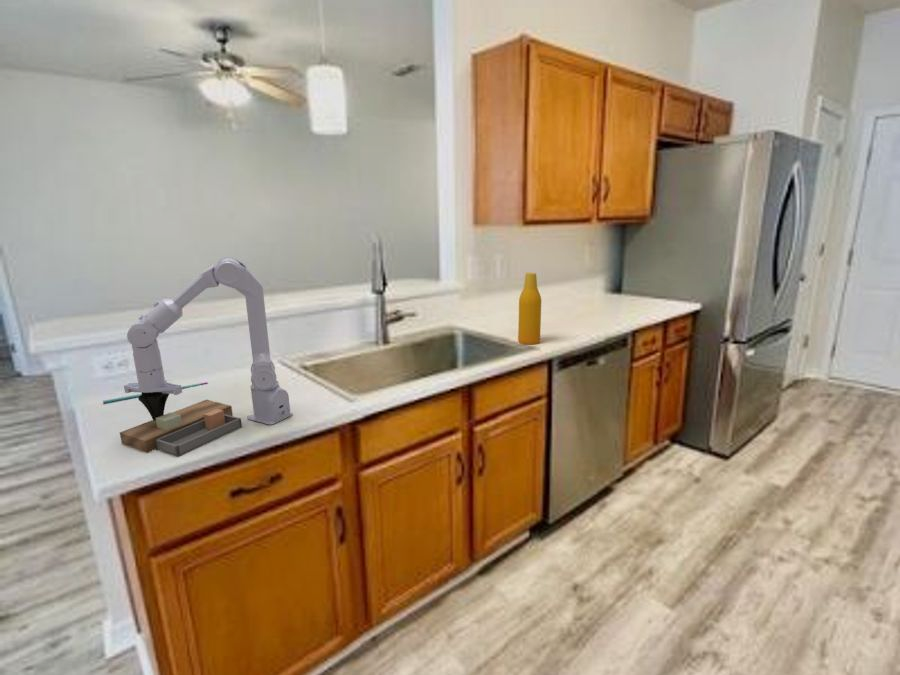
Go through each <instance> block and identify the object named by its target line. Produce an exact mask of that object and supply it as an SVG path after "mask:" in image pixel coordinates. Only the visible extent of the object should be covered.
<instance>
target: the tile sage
mask: <svg viewBox="0 0 900 675" xmlns="http://www.w3.org/2000/svg"><path fill="white" fill-rule="evenodd" d="M156 424H157V427H158V428H161V429H164V430H169V429H172V428H174V427H177V426H179V425H182V420H181V415H178V414H175V413H172V412H171V411H170V412H168V413H164V415H162V416H160V417H157V418H156Z"/></svg>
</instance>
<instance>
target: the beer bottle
mask: <svg viewBox="0 0 900 675" xmlns="http://www.w3.org/2000/svg"><path fill="white" fill-rule="evenodd" d="M537 279H538V278H537V273H536V272H526V273H525V276H524V284H523V289H522V291H521V293H520V295H519V298H518V332H517V333H518V335H517V340H518V343H520V344H521V345H529V346H530V345H531V346H532V345H533V346H534V345H537V344H540V343H541V324H542V323H541V322H542V321H541V319H542V296H541V294H540V292H539V289H538V280H537Z"/></svg>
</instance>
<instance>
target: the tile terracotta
mask: <svg viewBox="0 0 900 675" xmlns="http://www.w3.org/2000/svg"><path fill="white" fill-rule="evenodd" d="M204 420H205V426H206V429H209V430H213V429H215V428H218V427H220V426H222V425H224V424H225V418H224V411H223V410H220V409H215V410H213V411H211V412H208V413H206V414H204Z"/></svg>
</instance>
